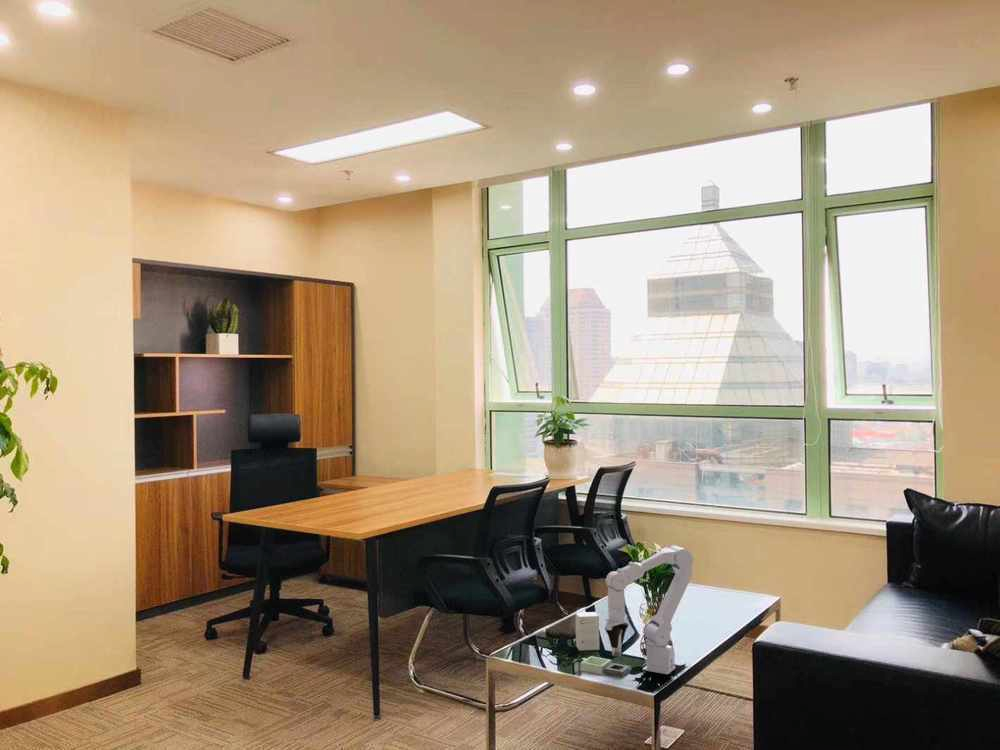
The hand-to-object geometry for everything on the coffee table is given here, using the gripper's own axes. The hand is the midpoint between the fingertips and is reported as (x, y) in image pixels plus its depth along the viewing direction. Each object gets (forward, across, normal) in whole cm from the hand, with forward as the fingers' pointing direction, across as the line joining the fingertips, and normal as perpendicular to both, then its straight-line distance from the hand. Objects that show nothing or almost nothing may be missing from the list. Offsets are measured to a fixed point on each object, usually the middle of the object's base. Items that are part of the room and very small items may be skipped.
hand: (617, 645), depth 287 cm
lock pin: (+3, 0, 0) cm, 3 cm away
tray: (+9, 0, -8) cm, 12 cm away
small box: (+10, -21, -22) cm, 32 cm away
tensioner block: (+9, 0, 0) cm, 9 cm away
